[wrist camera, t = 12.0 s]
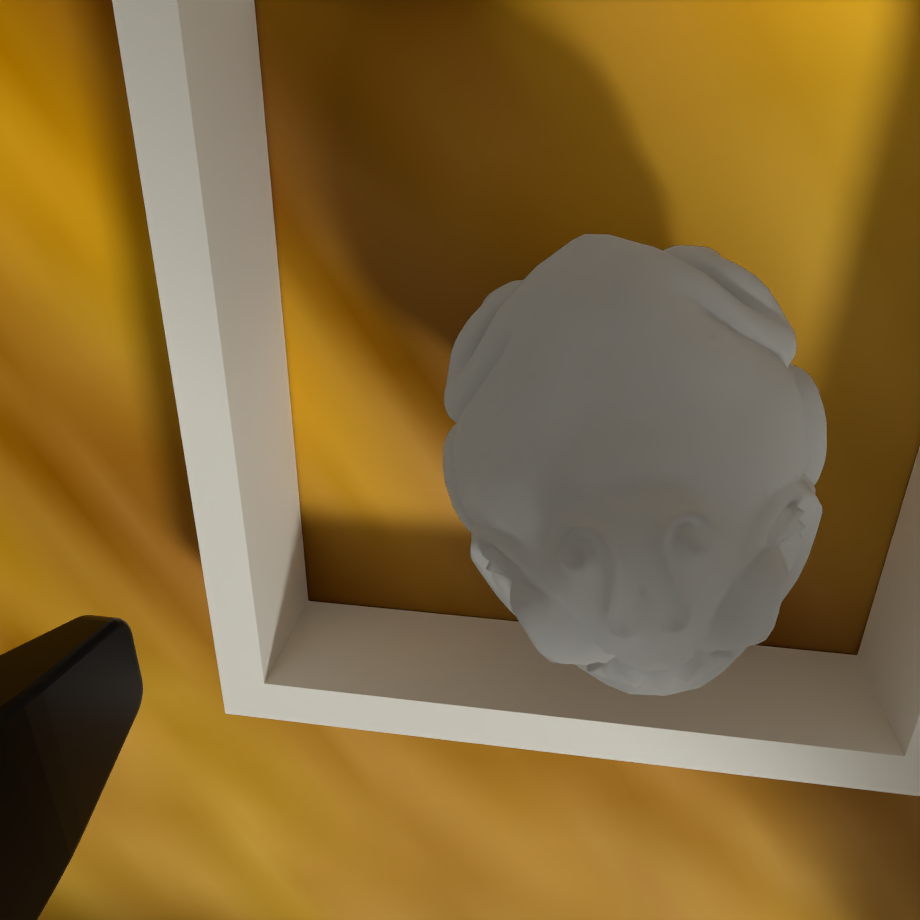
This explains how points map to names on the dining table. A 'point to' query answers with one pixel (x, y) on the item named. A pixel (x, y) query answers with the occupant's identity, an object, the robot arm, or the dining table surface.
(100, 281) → the dining table surface
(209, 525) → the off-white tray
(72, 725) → the robot arm
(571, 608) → the grey rounded lumpy piece
